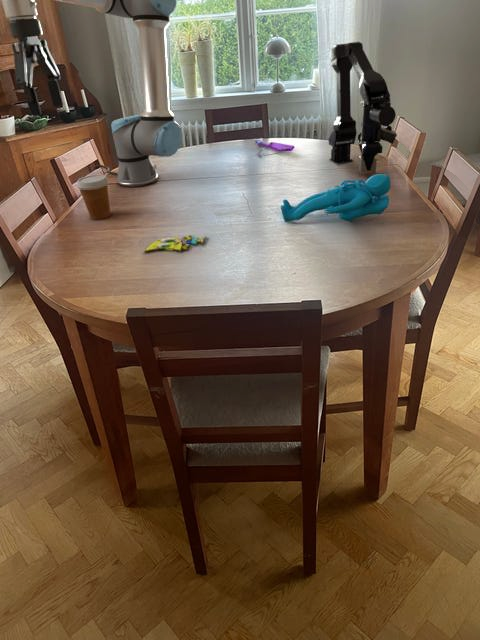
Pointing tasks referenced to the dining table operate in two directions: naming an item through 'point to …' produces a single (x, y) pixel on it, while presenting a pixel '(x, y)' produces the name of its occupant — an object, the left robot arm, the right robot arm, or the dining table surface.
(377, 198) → the toy
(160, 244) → the toy
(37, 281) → the dining table surface
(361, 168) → the block
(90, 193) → the disposable coffee cup
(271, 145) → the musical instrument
